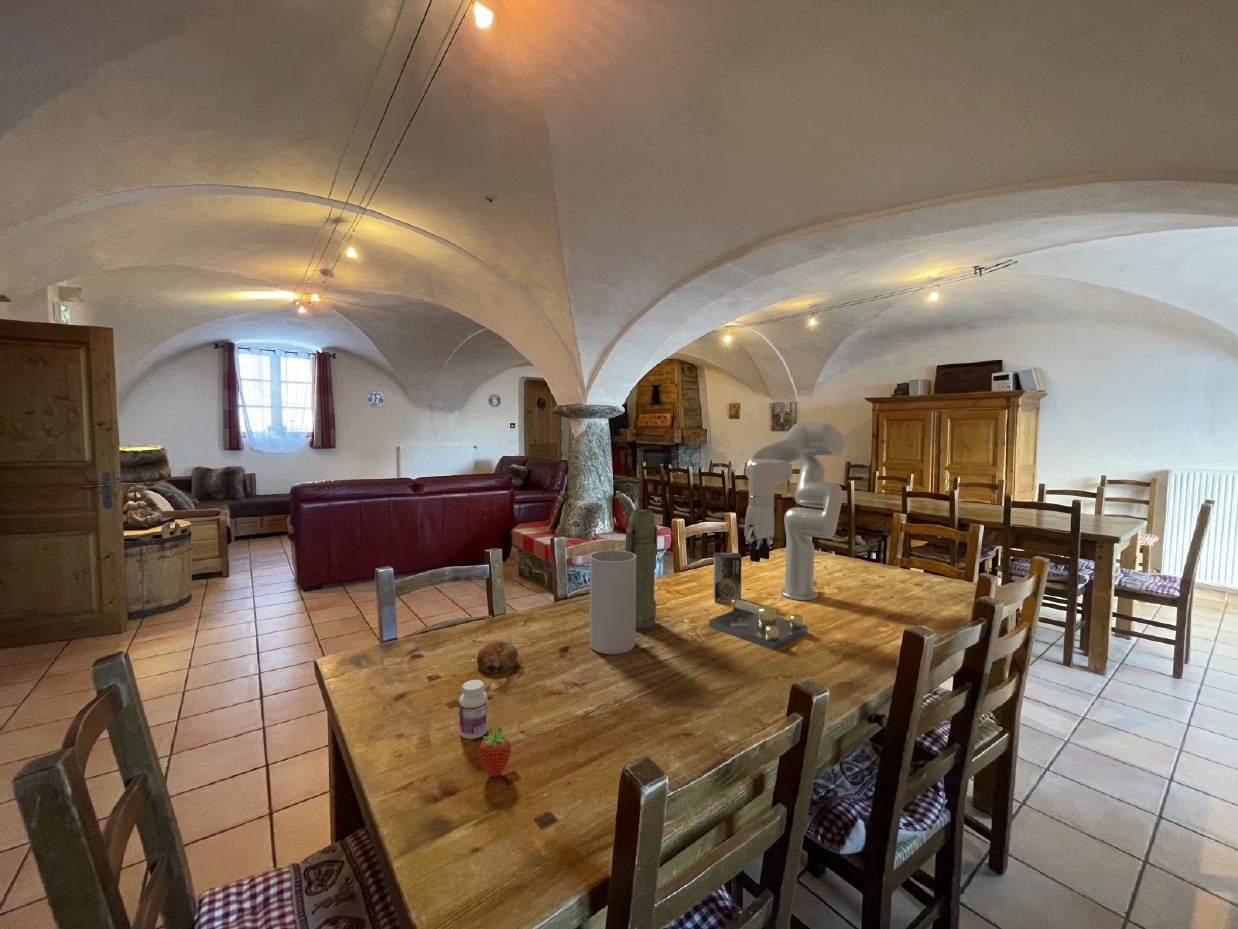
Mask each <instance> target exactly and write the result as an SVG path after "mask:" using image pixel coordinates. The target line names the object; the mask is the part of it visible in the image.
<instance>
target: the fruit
mask: <svg viewBox="0 0 1238 929" xmlns="http://www.w3.org/2000/svg"><path fill="white" fill-rule="evenodd" d="M502 731H503V728H502V727H499V728H498V729H497V730H496V729H494V731H493V729H492V728H491V727H489V733H490V734H489V735H487V736H486V735H485V736H484V735H482V736H481V737H482V738H483V739H482V741H481V743H480V745H479V749H478V756H479V760H480V763H481V765H482V766H483V769H484V770H485V772H486V774H487V775H488V776H490V777H493V778H494V777H498V776H499V775H500V774H502V772H503V771H504V770H505V768H506V767H507V764H508V762H509V760H510V755H511V744H510V741H509V739H507V738H506V737H508V735H509V733H507V734H502V733H503V732H502ZM501 734H502V735H501Z"/></svg>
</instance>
